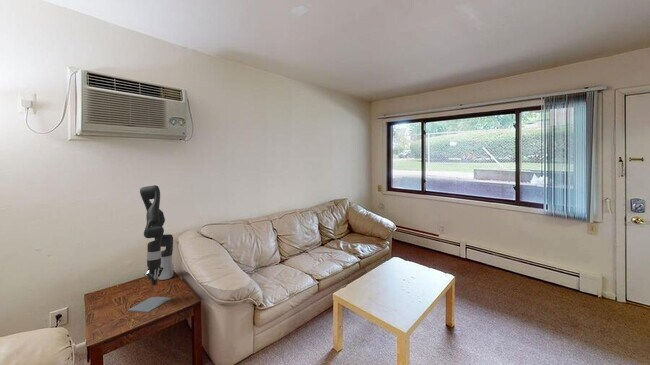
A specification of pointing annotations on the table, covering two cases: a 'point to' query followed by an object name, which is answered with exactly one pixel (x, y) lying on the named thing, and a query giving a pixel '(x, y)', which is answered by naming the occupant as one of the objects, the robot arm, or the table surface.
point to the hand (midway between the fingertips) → (154, 285)
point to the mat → (149, 304)
